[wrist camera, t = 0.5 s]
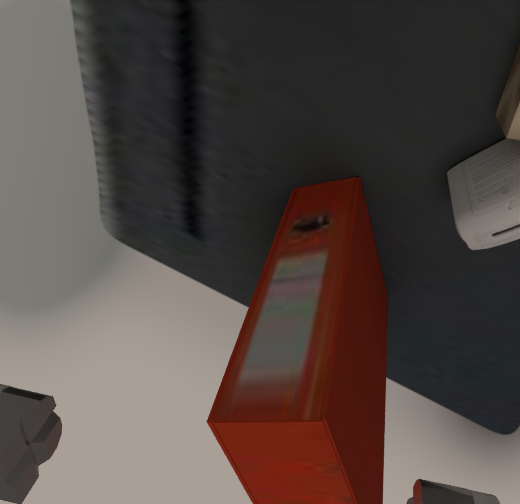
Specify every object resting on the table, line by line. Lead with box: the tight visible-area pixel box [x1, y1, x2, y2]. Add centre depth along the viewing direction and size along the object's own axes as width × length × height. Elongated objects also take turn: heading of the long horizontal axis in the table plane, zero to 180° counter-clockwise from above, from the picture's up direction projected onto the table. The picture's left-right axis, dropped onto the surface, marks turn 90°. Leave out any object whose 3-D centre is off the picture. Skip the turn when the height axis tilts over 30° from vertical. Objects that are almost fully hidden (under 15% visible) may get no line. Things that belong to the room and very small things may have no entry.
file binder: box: [207, 177, 388, 504], centre depth 47 cm, size 8×17×32 cm, turn 18°
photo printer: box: [447, 138, 520, 250], centre depth 45 cm, size 10×4×12 cm, turn 129°
